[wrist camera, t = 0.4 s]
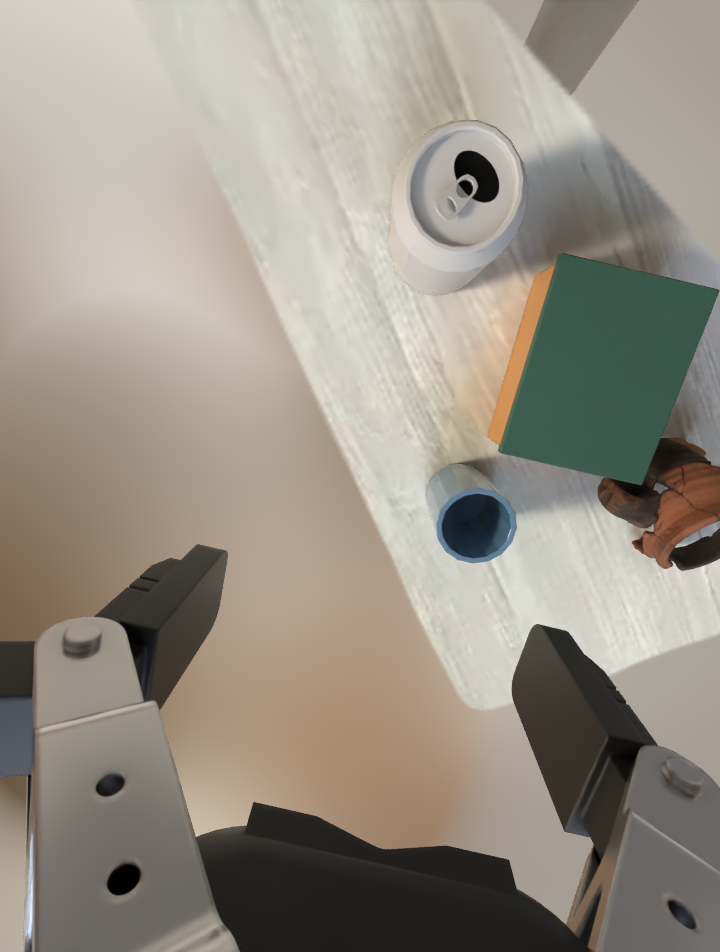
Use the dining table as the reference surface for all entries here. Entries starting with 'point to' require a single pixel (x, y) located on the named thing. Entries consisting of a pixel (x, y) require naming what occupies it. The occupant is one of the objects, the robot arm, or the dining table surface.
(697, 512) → the brown jagged ring
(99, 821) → the robot arm
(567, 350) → the container
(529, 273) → the dining table surface
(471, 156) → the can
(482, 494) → the cup
